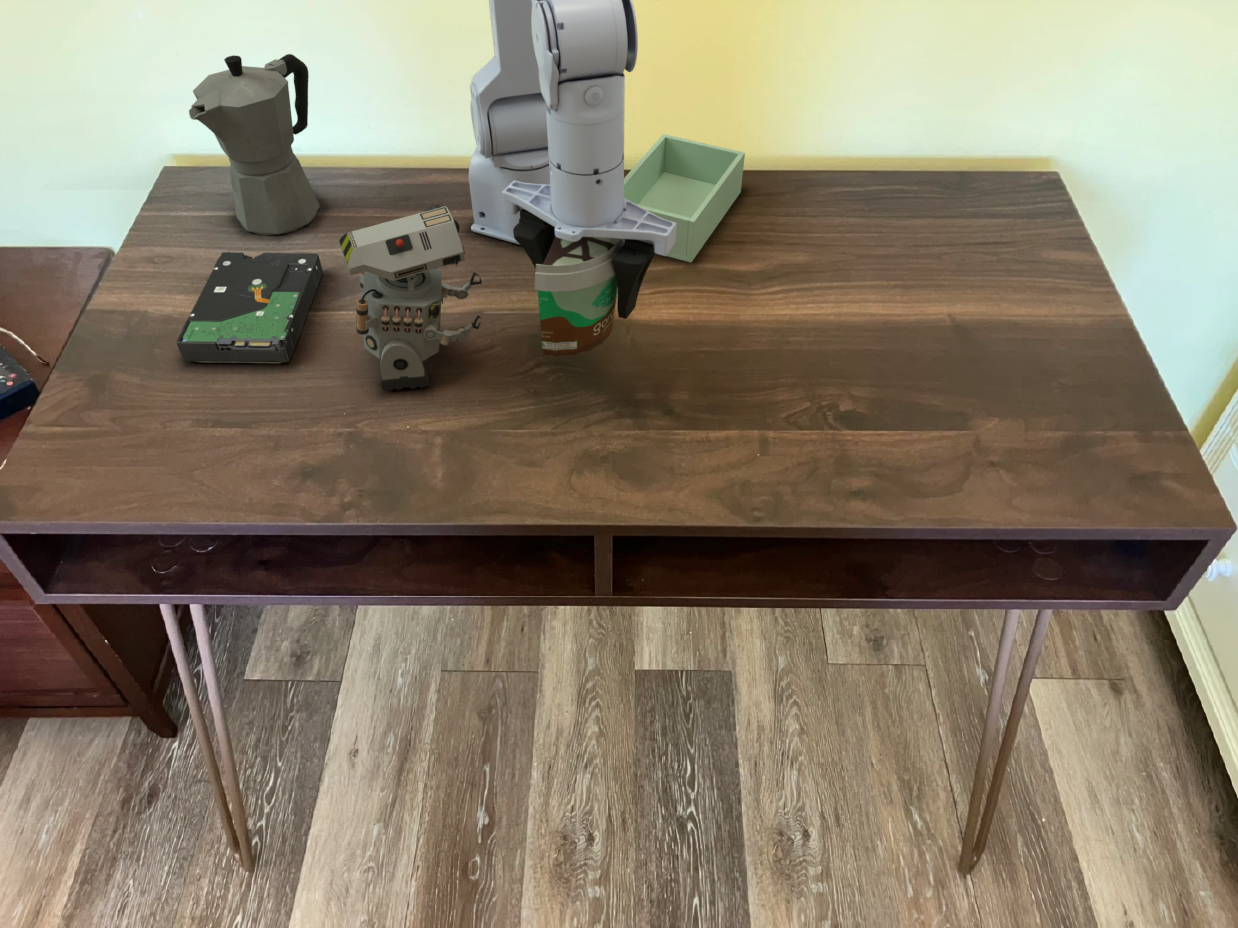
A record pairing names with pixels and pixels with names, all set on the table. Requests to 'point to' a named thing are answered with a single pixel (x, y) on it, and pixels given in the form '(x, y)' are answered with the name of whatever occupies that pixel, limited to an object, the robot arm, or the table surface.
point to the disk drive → (251, 308)
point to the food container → (577, 294)
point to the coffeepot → (260, 141)
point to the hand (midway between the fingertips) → (589, 300)
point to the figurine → (405, 291)
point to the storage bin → (686, 188)
